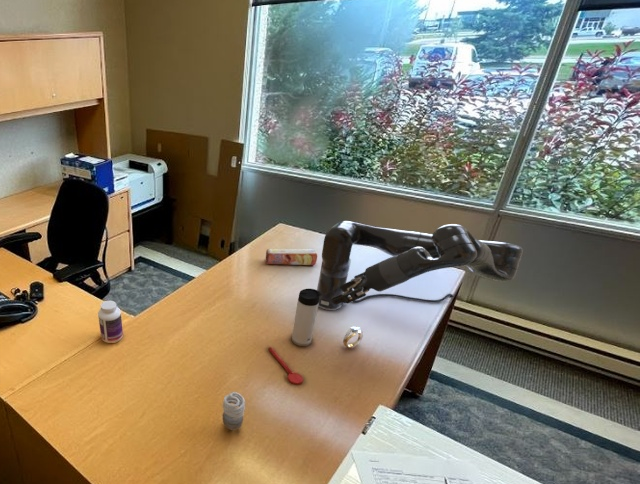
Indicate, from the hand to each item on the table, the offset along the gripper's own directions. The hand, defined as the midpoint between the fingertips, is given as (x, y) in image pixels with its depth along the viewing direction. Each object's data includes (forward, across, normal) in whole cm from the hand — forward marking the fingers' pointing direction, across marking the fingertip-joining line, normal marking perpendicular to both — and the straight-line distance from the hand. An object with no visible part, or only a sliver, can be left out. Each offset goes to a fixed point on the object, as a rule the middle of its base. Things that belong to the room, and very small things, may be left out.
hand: (337, 295), depth 127 cm
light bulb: (+22, -47, -8) cm, 53 cm away
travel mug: (+21, 0, -10) cm, 23 cm away
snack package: (+38, +50, +7) cm, 63 cm away
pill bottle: (+60, -37, +29) cm, 76 cm away
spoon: (+21, -15, -10) cm, 28 cm away
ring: (+11, +6, -20) cm, 24 cm away
